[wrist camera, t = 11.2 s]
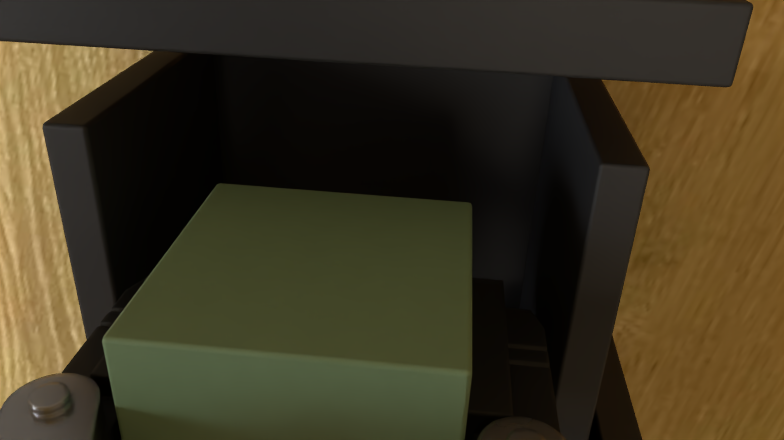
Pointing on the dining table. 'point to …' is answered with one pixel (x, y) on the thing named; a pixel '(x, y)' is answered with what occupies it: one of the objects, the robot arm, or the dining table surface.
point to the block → (301, 322)
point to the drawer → (382, 132)
